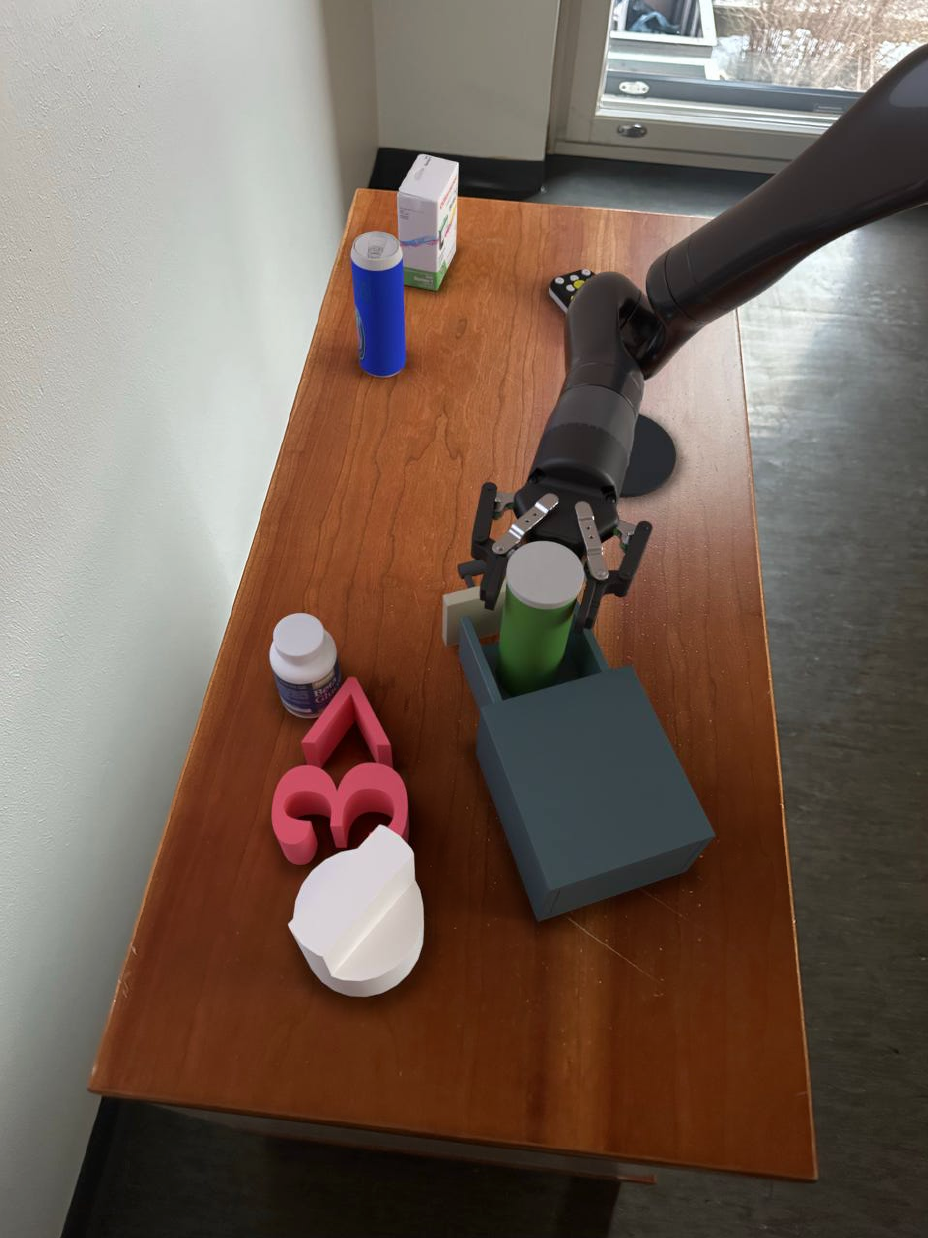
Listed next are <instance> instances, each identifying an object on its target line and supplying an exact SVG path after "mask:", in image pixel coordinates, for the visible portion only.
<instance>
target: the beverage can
mask: <svg viewBox="0 0 928 1238" xmlns="http://www.w3.org/2000/svg"><path fill="white" fill-rule="evenodd" d="M350 266H351V276H352V289H353V302H354V311H355V314H354V315H355V323H356V336H357V337H356V338H357V346H358V359H359V365H360V367H361V369H362V370H363V371H365V372H366V373H367V374H368V375H370V376H372V377H375V378H379V379H387V378H391V377H393V376H396V375H397V374H399V373H400V372H401V371H402V370H403V369H404V367H405V365H406V362H407V350H406V348H407V347H406V318H405V312H406V311H405V285H404V277H403V252H402V249H401V247H400V244H399V239H398V238H396V237H395V236H394V235H393V234H390V233H388V232H385V231H378V230H377V231H376V230H375V231H367V232H365V233H362V234H360V235H358V236H356V238H355V239H354V240H353V242H352V246H351V250H350Z"/></svg>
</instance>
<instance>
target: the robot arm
mask: <svg viewBox="0 0 928 1238" xmlns="http://www.w3.org/2000/svg"><path fill="white" fill-rule="evenodd" d="M924 205H928V42H927V43H924V44H922V45H920V46H919V47H917V48H915V49H913V50H912V51H910V52H909V53H908V54H907V55H905V56H904V57H903V58H902V59H900V60H899V61H898V62H897V63H896V64H894V65H893V66H892V67H891V68H890V69H889V70H888V71H887V72H886V73H884V74H883V75H882V76H881V77H880V78H879V79H878V80H877V81H876V82H875V83H873V85H872V86H870V87H869V88H868V89H867V90H866V91H865V92H864V93H863V94H862V95H861V96H859V98H858V99H857V100H856V101H855V102H853V103H852V105H850V107H848V109H846V110H845V111H844V112H843V113H842V114H841V115H840V116H839V117H838V118H837V119H836V120H835V121H834V122H833V123H832V124H831V125H830V126H829V127H828V128H827V129H826V130H825V131H823V133H822V134H821V135H820V136H818V137H817V138H816V139H815V140H814V141H813V142H811V143H810V144H809V145H808V146H807V147H806V148H805V149H804V150H803V151H801V152H800V153H799V154H798V155H797V156H796V157H794V159H792V160H791V161H790V162H789V163H787V164H786V165H785V166H784V167H782V168H781V169H780V170H779V171H778V172H776V173H775V174H774V175H773V176H772V177H770V178H769V179H767V180H766V181H765V182H764V183H763V184H761V185H760V186H759V187H757V188H756V189H754V190H753V191H752V192H750V193H749V194H747V195H746V196H745V197H743V198H742V199H740V200H739V201H738V202H736V203H735V204H733V205H732V206H731V207H729V208H727V209H726V210H724V211H723V212H722V213H720V214H719V215H717V216H716V217H714V218H713V219H711V220H710V221H708V222H706V223H705V224H704V225H702V226H700V227H699V228H698V229H697V230H695V231H693V232H692V233H690V234H689V235H688V236H686V237H685V238H684V239H682V240H681V241H679V242H677V243H676V244H675V245H672V247H670V248H669V249H667V250H666V251H664V252H663V253H662V254H660V255H659V256H657V258H656V259H655V260H654V261H653V262H652V264H651V265H650V266H649V268H648V270H647V273H646V276H645V293H646V294H645V293H644V292H643V291H642V290H641V289H640V288H639V287H638V286H637V285H636V283H634V282H633V281H632V280H631V279H630V278H628V277H627V276H625V275H624V274H623V273H620V272H617V271H612V270H611V271H610V270H609V271H608V270H607V271H601V272H598V273H595V274H596V275H594V276H592V277H590V278H589V279H588V280H586V281H585V282H584V283H583V284H582V285H581V286H580V287H579V289H578V290H577V291H576V293H575V295H574V296H573V298H572V300H571V302H570V305H569V308H568V310H567V314H566V313H565V319H564V325H563V353H564V354H563V356H564V380H563V383H562V385H561V388H560V391H559V394H558V397H557V399H556V403H555V405H554V406H553V409H552V410H551V412H550V414H549V416H548V418H547V420H546V423H545V425H544V428H543V432H542V435H541V438H540V441H539V443H538V446H537V450H536V452H535V454H534V457H533V460H532V464H531V467H530V469H529V472H528V475H527V478H526V481H525V483H524V485H523V486H522V487H520V488H519V489H518V490H517V491H516V492H515V493H513V492H505V491H500V490H498V486H497V484H496V483H494V482H491V481H487V482H484V483H483V484H482V486H481V489H480V494H479V498H478V504H477V508H476V514H475V517H474V522H473V528H472V532H471V541H470V542H471V543H470V557H471V558H472V559H473V560H483V561H485V562H486V563H487V566H486V568H485V571H484V574H482V576H481V580H480V583H479V586H480V592H479V596H480V600H481V601H485V606H484V609H488V610H491V611H494V608H495V605H496V602H497V599H498V596H499V593H500V590H501V587H502V584H503V581H504V579H506V572H507V565H508V561H509V559H510V557H511V556H512V555H513V553H514V552H515V551H516V550H518V549H519V548H520V547H522V546H524V545H526V544H528V543H532V542H537V541H548V542H554V543H557V544H560V545H563V546H565V547H566V548H568V549H569V550H571V551H572V552H573V553H574V554H575V555H576V556H577V557H578V559H579V560H580V562H581V564H582V566H583V570H584V580H583V582H584V584H585V586H584V589H583V593H582V597H581V600H580V603H579V604H580V608H579V611H578V615H577V619H576V623H575V626H574V630H573V633H577V634H580V635H582V633H583V629H584V628H586V629H590V630H591V629H593V628H594V626H595V625H596V622H597V618H598V615H599V611H600V607H601V603H602V598H604V597H605V596H607V595H614V596H615V597H617V598H625V597H626V596H628V594H629V591H630V589H631V586H632V584H633V581H634V579H635V576H636V574H637V571H638V569H639V566H640V564H641V561H642V559H643V557H644V554H645V552H646V549H647V546H648V543H649V541H650V538H651V535H652V532H653V528H654V527H653V524H652V523H651V522H650V521H647V520H641V521H639V522H637V524H634V523H631V522H628V521H625V520H623V519H620V515H619V513H618V509H617V508H618V503H619V500H620V497H619V496H620V492H621V489H622V485H623V481H624V477H625V474H626V470H627V468H628V465H629V458H630V455H631V451H632V447H633V442H634V429H635V424H636V420H637V417H638V413H639V412H640V408H641V406H642V401H643V397H644V392H645V382H647V381H649V380H650V379H652V378H654V377H655V376H657V375H658V374H659V372H661V371H662V370H663V369H664V368H665V367H666V366H667V364H668V363H669V362H670V361H671V360H672V359H673V357H675V355H676V354H677V353H678V352H679V351H680V349H682V348H683V347H684V346H685V345H686V344H687V343H688V342H689V341H690V340H691V339H692V338H693V337H694V336H695V335H696V334H698V333H699V332H700V331H701V330H702V329H703V328H705V327H706V326H707V325H710V324H711V323H713V322H715V321H716V320H719V319H720V318H722V317H724V316H725V315H728V314H729V313H731V312H733V311H735V310H736V309H738V308H740V307H741V306H743V305H745V304H747V303H748V302H750V301H752V300H753V299H755V298H756V297H758V296H760V295H762V294H763V293H765V292H766V291H767V290H769V289H771V287H773V286H774V285H775V284H777V283H778V282H779V281H781V280H782V279H783V278H784V277H786V275H788V274H789V273H790V272H791V271H792V270H794V268H796V267H797V266H798V265H799V264H800V263H801V262H803V261H804V260H805V259H807V258H808V257H810V256H811V255H813V254H814V253H815V252H818V251H819V250H820V249H822V248H823V247H825V246H827V245H829V244H831V243H832V242H834V241H836V240H837V239H839V238H841V237H844V236H845V235H847V234H849V233H852V232H854V231H857V230H858V229H861V228H863V227H866V226H868V225H871V224H874V223H876V222H879V221H882V220H885V219H888V218H889V217H892V216H895V215H897V214H901V213H903V212H907V211H909V210H912V209H915V208H918V207H921V206H924ZM639 414H640V413H639ZM510 510H511V511H512V512H513V515H514V516H515V518H516V520H515V521H514V522H513V523H512V525H511V526H510V528H509V529H508V531H506V532H505V533H504V534H503V535H502V536H501V537H500V538H498V539H497V540H495V539H494V538H491V531H492V527H493V522H494V521H499V519H501V518H502V517H503V516H504V514H505V512H507V511H510ZM615 536H616V537H617V539H618V540H619V545H618V546H619V549H621V550H622V553H623V554H624V556H622V557H623V558H622V560H621V562H620V565H619V567H618V569H608V567H607V563H606V561H605V557H604V549H603V544H604V543H605V542H608V541H609V540H610V539H612V538H614V537H615Z"/></svg>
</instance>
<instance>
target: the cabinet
mask: <svg viewBox="0 0 928 1238" xmlns="http://www.w3.org/2000/svg"><path fill="white" fill-rule="evenodd" d="M475 756H476V758H477V762H478V764H479V766H480V769H481V772H482V775H483V777H484V780H485V782H486V785H487V788H488V791H489V794H490V796H491V799H492V801H493V805H494V807H495V810H496V813H497V815H498V819H499V821H500V824H501V827H502V830H503V832H504V834H505V837H506V840H507V843H508V845H509V849H510V851H511V854H512V857H513V859H514V862H515V865H516V867H517V870H518V872H519V876H520V878H521V881H522V884H523V887H524V889H525V893H526V895H527V898H528V900H529V903H530V905H531V906H530V907H531V908H532V911H533V914H534V916H535V919H536V921H537V923H540V922H542V921H545V920H548V919H551V918H554V917H557V916H560V915H563V914H566V913H568V912H572V911H575V910H578V909H580V908H584V907H586V906H589V905H592V904H595V903H598V902H601V901H604V900H606V899H609V898H613V897H616V896H618V895H622V894H624V893H627V892H631V891H633V890H636V889H639V888H642V887H645V886H648V885H651V884H654V883H657V882H659V881H663V880H665V879H669V878H671V877H675V876H677V875H680V874H683V873H687V871H688V870H689V869H690V868H691V866H692V865H693V864H694V863H695V861H696V860H697V859H698V858H699V856H700V855H702V853H703V852H704V850H705V849H706V848H707V847H708V846H709V844H710V843H711V842H712V840H713V839H714V838H716V833H715V831H714V830H713V829H714V828H713V827H712V825H711V823H710V821H709V819H708V817H707V815H706V813H705V811H704V809H703V807H702V805H701V802H700V801H699V799H698V797H697V795H696V792H695V791H694V789H693V787H692V785H691V783H690V780H689V778H688V776H687V774H686V771H685V770H684V769H683V766H682V763H681V762H680V760H679V758H678V756H677V754H676V752H675V750H674V748H673V746H672V744H671V742H670V740H669V738H668V736H667V734H666V732H665V730H664V728H663V726H662V724H661V721H660V719H659V717H658V715H657V714H656V711H655V709H654V707H653V706H652V703H651V702H650V699H649V697H648V695H647V693H646V691H645V689H644V687H643V685H642V683H641V681H640V679H639V676H638V674H637V673H636V671H635V669H634V667H633V665H632V664H631V663H630V664H626V665H623V666H619V667H615V668H613V669H611V670H608V671H605V672H601V673H598V674H594V675H591V676H587V677H584V678H580V679H577V680H573V681H570V682H566V683H563V684H559V685H556V686H552V687H549V688H545V689H542V690H538V691H535V692H531V693H528V694H524V695H521V696H517V697H514V698H510V699H507V700H503V701H500V702H496V703H493V704H489V705H486V706H482V707H480V712H479V717H478V728H477V739H476V747H475Z"/></svg>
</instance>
